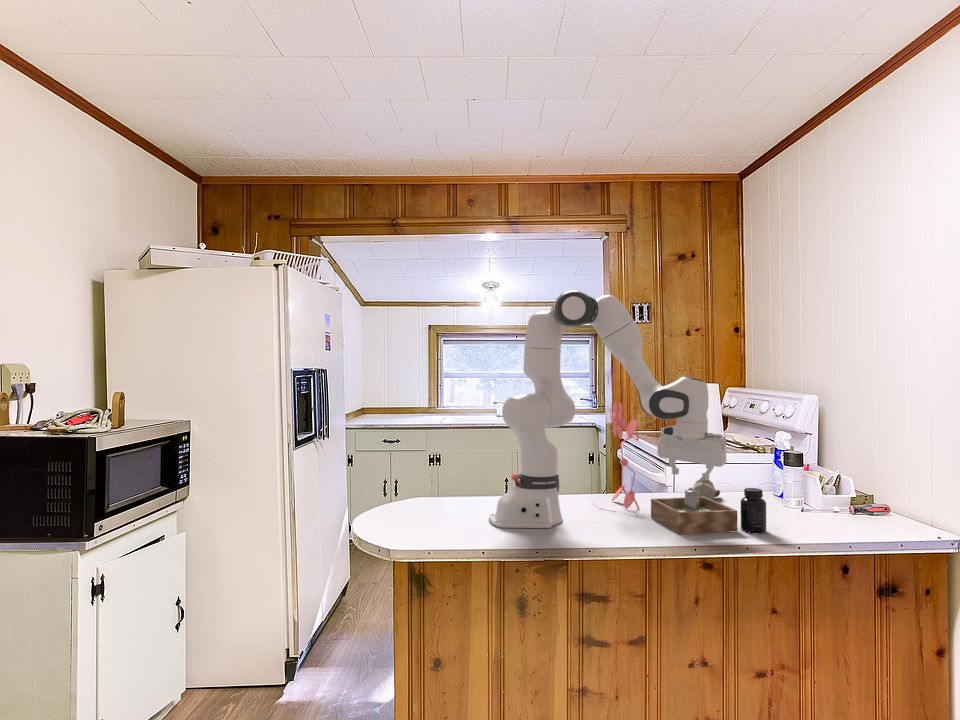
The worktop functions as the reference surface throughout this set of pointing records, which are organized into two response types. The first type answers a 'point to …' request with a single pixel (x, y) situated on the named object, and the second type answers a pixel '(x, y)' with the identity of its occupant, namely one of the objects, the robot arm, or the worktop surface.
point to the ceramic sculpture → (705, 489)
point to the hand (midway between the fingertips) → (690, 476)
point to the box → (694, 516)
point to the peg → (691, 500)
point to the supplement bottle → (753, 511)
